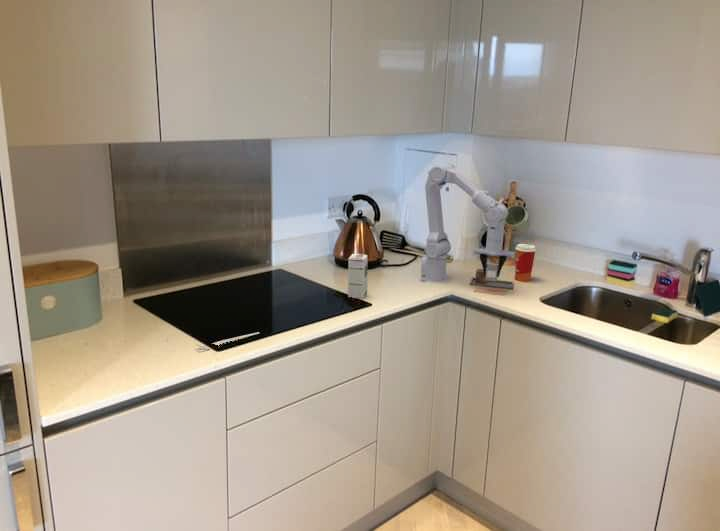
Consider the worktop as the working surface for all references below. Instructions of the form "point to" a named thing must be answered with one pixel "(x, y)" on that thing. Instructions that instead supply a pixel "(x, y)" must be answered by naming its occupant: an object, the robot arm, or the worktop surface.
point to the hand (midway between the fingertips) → (491, 275)
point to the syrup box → (357, 275)
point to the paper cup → (524, 262)
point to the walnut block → (480, 277)
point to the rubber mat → (490, 290)
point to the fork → (227, 340)
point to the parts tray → (494, 284)
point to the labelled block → (491, 272)
